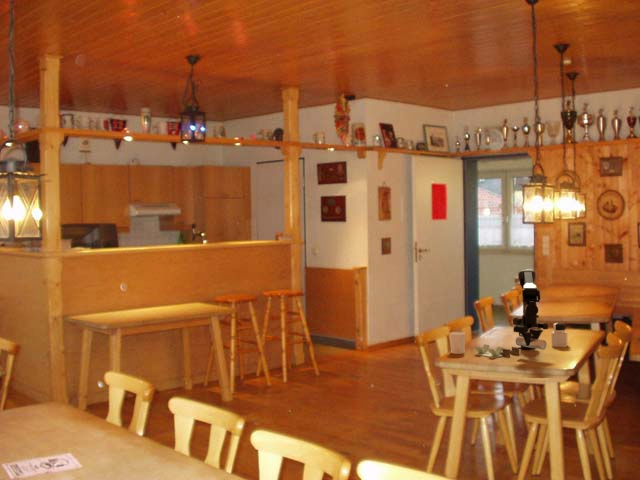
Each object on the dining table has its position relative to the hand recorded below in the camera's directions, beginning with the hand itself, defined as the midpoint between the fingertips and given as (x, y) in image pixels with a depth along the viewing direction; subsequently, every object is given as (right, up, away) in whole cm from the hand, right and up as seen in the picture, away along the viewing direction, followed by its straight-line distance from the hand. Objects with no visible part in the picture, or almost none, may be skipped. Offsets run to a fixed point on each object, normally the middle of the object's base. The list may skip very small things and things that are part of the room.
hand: (531, 345), depth 366 cm
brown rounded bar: (0, -1, 0) cm, 1 cm away
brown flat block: (-9, -6, +13) cm, 17 cm away
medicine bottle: (+24, -5, +32) cm, 40 cm away
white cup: (-32, -7, +21) cm, 38 cm away
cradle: (-18, -7, +12) cm, 22 cm away
